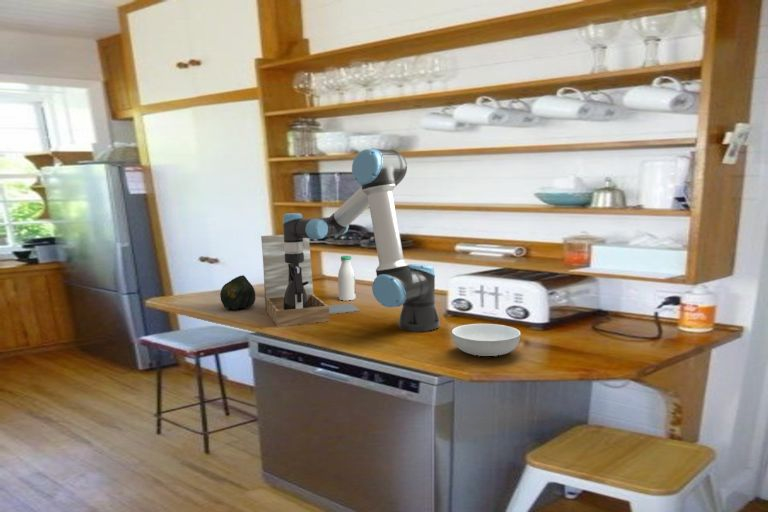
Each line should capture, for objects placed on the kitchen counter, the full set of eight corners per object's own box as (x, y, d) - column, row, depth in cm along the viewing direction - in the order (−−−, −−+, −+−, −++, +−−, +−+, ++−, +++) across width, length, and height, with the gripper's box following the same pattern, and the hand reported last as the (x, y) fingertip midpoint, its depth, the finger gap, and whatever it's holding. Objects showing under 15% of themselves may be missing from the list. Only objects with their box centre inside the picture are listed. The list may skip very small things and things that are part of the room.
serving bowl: (532, 351, 174) (533, 329, 173) (497, 368, 158) (497, 345, 157) (475, 339, 187) (475, 319, 186) (438, 354, 172) (437, 332, 171)
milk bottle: (353, 301, 251) (352, 257, 248) (336, 301, 253) (335, 257, 250) (357, 297, 259) (356, 255, 256) (341, 297, 260) (340, 254, 257)
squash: (207, 298, 238) (227, 272, 234) (227, 292, 252) (246, 268, 248) (230, 321, 236) (250, 296, 232) (249, 314, 250) (268, 290, 246)
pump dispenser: (307, 319, 219) (306, 281, 217) (281, 320, 220) (279, 281, 218) (311, 313, 230) (310, 277, 228) (286, 314, 230) (284, 277, 228)
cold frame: (329, 321, 216) (326, 239, 212) (277, 327, 209) (273, 242, 205) (310, 305, 246) (307, 233, 241) (264, 309, 239) (260, 235, 234)
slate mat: (360, 311, 232) (360, 309, 232) (327, 314, 227) (327, 313, 227) (350, 304, 245) (350, 303, 245) (318, 307, 240) (318, 306, 240)
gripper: (309, 255, 212) (312, 312, 215) (297, 248, 233) (299, 301, 236) (290, 256, 209) (292, 314, 212) (279, 249, 230) (282, 302, 233)
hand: (296, 307), depth 224 cm, fingers closed on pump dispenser, 10 cm apart
